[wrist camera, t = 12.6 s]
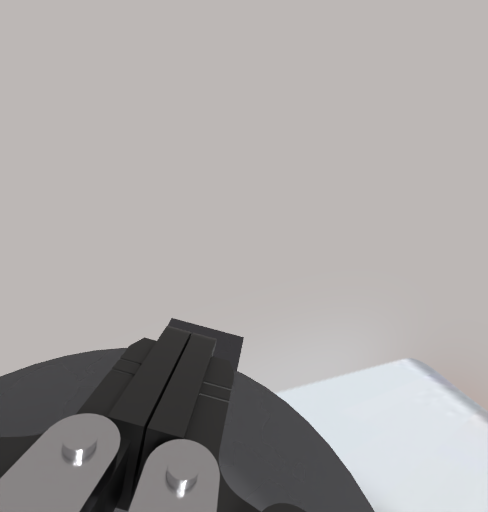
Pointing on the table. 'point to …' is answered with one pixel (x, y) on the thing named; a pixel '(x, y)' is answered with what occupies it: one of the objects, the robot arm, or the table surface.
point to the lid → (234, 434)
